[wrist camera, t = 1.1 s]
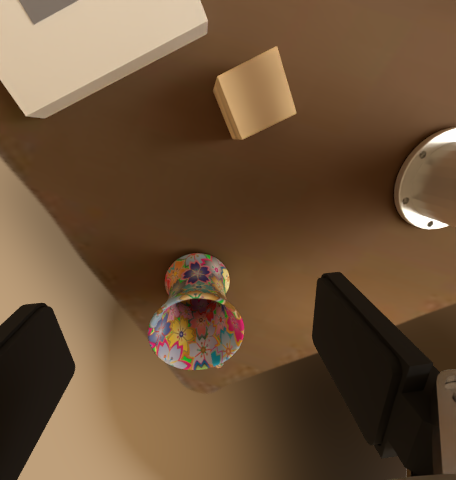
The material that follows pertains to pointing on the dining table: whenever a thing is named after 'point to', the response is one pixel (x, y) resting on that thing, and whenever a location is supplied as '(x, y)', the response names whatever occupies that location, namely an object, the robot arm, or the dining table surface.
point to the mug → (196, 316)
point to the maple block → (254, 95)
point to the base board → (86, 45)
